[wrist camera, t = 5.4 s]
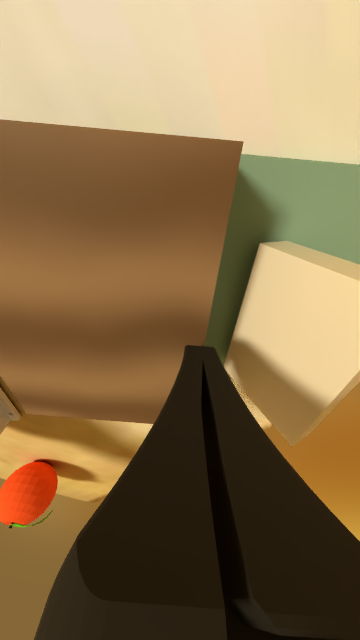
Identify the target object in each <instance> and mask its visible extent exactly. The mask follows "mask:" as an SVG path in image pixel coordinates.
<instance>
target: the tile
mask: <svg viewBox="0 0 360 640" xmlns="http://www.w3.org/2000/svg"><path fill="white" fill-rule="evenodd" d="M224 368H225V370H226V371H227V373H228V374H229V375H230V376H231V377H232V378H233V380H234V381H235V382H236V383H237V384H238V385H239V386H240V388H241V389H242V390H243V391H244V392H245V393H246V395H247V396H248V397H249V398H250V399H251V400H252V401H253V403H254V404H255V405H256V406H257V407H258V408H259V410H260V411H261V412H262V413H263V414H264V415H265V416H266V418H267V419H268V420H269V421H270V422H271V423H272V425H273V426H274V427H275V428H276V429H277V430H278V431H279V433H280V434H281V435H282V436H283V437H284V438H285V439H286V441H287V442H288V443H289V444H290V445H291V446H293V445H295V444H296V443H297V442H299V441H300V440H301V439H303V438H304V437H305V436H307V435H308V434H310V433H311V432H312V431H313V430H315V428H317V427H318V425H319V424H320V423H321V422H322V421H323V420H324V419H325V418H326V417H327V416H328V415H329V414H330V413H331V412H332V411H333V409H334V408H335V407H336V406H337V405H338V404H339V403H340V402H341V401H342V400H343V399H344V398H345V396H347V395H348V393H349V392H350V391H351V390H352V389H353V388H354V387H355V386H356V385H357V384H358V383H359V382H360V265H359V264H356V263H353V262H350V261H347V260H344V259H341V258H338V257H335V256H332V255H329V254H326V253H323V252H320V251H317V250H314V249H311V248H308V247H305V246H302V245H299V244H296V243H293V242H290V241H278V242H267V243H260V244H259V248H258V251H257V254H256V258H255V261H254V265H253V268H252V271H251V275H250V278H249V282H248V285H247V288H246V292H245V295H244V299H243V302H242V305H241V309H240V312H239V316H238V319H237V323H236V326H235V329H234V333H233V336H232V340H231V343H230V346H229V350H228V353H227V357H226V360H225V363H224Z"/></svg>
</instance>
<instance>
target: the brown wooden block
mask: <svg viewBox="0 0 360 640" xmlns="http://www.w3.org/2000/svg"><path fill="white" fill-rule="evenodd" d="M242 147H243V142H242V141H231V140H220V139H209V138H198V137H187V136H176V135H165V134H154V133H143V132H132V131H121V130H110V129H99V128H88V127H77V126H66V125H55V124H44V123H33V122H22V121H11V120H0V377H1V378H2V379H3V381H4V382H5V384H6V385H7V387H8V388H9V390H10V391H11V393H12V394H13V395H14V397H15V398H16V400H17V401H18V403H19V404H20V406H21V407H22V409H23V410H24V411H25V413H26V414H33V415H46V416H59V417H72V418H84V419H97V420H110V421H122V422H135V423H148V424H154V423H155V421H156V419H157V417H158V416H159V414H160V412H161V410H162V408H163V406H164V404H165V402H166V400H167V398H168V396H169V394H170V392H171V389H172V387H173V385H174V383H175V380H176V378H177V375H178V372H179V370H180V367H181V364H182V360H183V356H184V349H185V346H187V345H194V346H204V344H205V339H206V333H207V328H208V323H209V318H210V313H211V308H212V302H213V297H214V292H215V287H216V282H217V276H218V271H219V266H220V261H221V256H222V251H223V245H224V240H225V235H226V230H227V225H228V219H229V214H230V209H231V204H232V199H233V193H234V188H235V183H236V178H237V173H238V168H239V162H240V157H241V152H242Z"/></svg>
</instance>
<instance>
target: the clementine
mask: <svg viewBox="0 0 360 640" xmlns="http://www.w3.org/2000/svg"><path fill="white" fill-rule="evenodd" d="M57 483H58V479H57V474H56V472H55V470H54V468H53V467H52V466H50V465H49V464H47V463H45V462H32V463H29V464H26V465H24V466H22V467H21V468H19V469H18V470H16V471H15V472H14V473H13V474H12V475H11V476H9V477H8V479H7V480H6V481H5V483H4V484H3V485H2V487H1V489H0V521H1V522H2V523H4V524H7V525H10V527H9V528H12V526H16V527H28V526H24V525H26V524H28V523H30V522H31V521H34V520H35V519H37V518H38V517H39V516H40V515H41V514H42V513H44V511H45V510H46V509H47V507H48V506H49V505H50V503H51V501H52V500H53V498H54V496H55V493H56V490H57ZM50 513H51V512H50ZM50 513H49V515H50ZM49 515H48V516H49ZM48 516H47V517H48ZM47 517H46V518H47ZM46 518H44V519H43V520H45V519H46ZM43 520H42V521H43ZM42 521H40V522H38V523H36V524H39V523H41V522H42ZM36 524H33V525H36ZM33 525H31V526H33Z"/></svg>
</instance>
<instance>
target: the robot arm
mask: <svg viewBox="0 0 360 640" xmlns="http://www.w3.org/2000/svg"><path fill="white" fill-rule="evenodd" d="M20 418H21V415H20V414H19V412H18V411H17V410H16V408H15V407H14V406H13V404H12V403H11V401H10V400H9V399H8V397H7V396H6V395H5V393H4V392H3V390H2V389H1V388H0V434H1V433H2V432H3V430H4V429H5V427H6V426H7V425H8V423H9V422H10V421H18V420H19V419H20ZM34 640H360V541H359V540H358V539H357V538H356V537H355V536H354V535H353V534H352V533H351V532H350V531H349V530H348V529H347V528H346V527H345V526H344V525H343V524H342V523H341V522H340V520H339V519H338V518H337V517H336V516H335V515H334V514H333V513H332V512H331V511H330V510H329V509H328V507H326V505H325V504H324V503H323V502H322V501H321V500H320V499H319V498H318V496H317V495H316V494H315V493H314V492H313V491H312V490H311V489H310V488H309V486H308V485H307V484H306V483H305V482H304V480H303V479H302V478H301V477H300V476H299V475H298V473H297V472H296V471H295V470H294V469H293V467H292V466H291V465H290V464H289V463H288V462H287V460H286V459H285V458H284V457H283V456H282V454H281V453H280V452H279V451H278V449H277V448H276V447H275V445H274V444H273V443H272V441H271V440H270V439H269V438H268V436H267V435H266V434H265V432H264V431H263V429H262V428H261V427H260V425H259V424H258V422H257V421H256V420H255V418H254V417H253V415H252V414H251V412H250V411H249V409H248V408H247V406H246V404H245V403H244V401H243V400H242V398H241V397H240V395H239V393H238V392H237V390H236V388H235V386H234V385H233V383H232V381H231V379H230V377H229V376H228V374H227V372H226V370H225V368H224V366H223V364H222V362H221V360H220V358H219V355H218V353H217V351H216V349H215V348H214V347H207V346H194V345H187V346H185V349H184V356H183V360H182V364H181V367H180V370H179V372H178V375H177V378H176V380H175V383H174V385H173V387H172V389H171V392H170V394H169V396H168V398H167V400H166V402H165V404H164V406H163V408H162V410H161V412H160V414H159V416H158V417H157V419H156V421H155V423H154V425H153V426H152V428H151V430H150V431H149V433H148V435H147V436H146V438H145V440H144V441H143V443H142V445H141V446H140V448H139V449H138V451H137V453H136V454H135V456H134V457H133V459H132V460H131V462H130V463H129V465H128V466H127V468H126V469H125V471H124V472H123V474H122V475H121V476H120V478H119V479H118V481H117V482H116V484H115V485H114V487H113V488H112V490H111V491H110V492H109V494H108V495H107V496H106V498H105V499H104V501H103V502H102V503H101V505H100V506H99V507H98V509H97V510H96V511H95V513H94V514H93V516H92V517H91V518H90V520H89V521H88V523H87V524H86V525H85V526H84V528H83V529H82V530H81V532H80V533H79V535H78V536H77V538H76V541H75V542H74V544H73V546H72V548H71V549H70V551H69V553H68V555H67V557H66V559H65V561H64V563H63V565H62V567H61V569H60V571H59V573H58V575H57V577H56V579H55V582H54V584H53V587H52V589H51V591H50V594H49V596H48V599H47V602H46V605H45V608H44V611H43V614H42V617H41V620H40V623H39V626H38V629H37V632H36V635H35V638H34Z"/></svg>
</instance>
